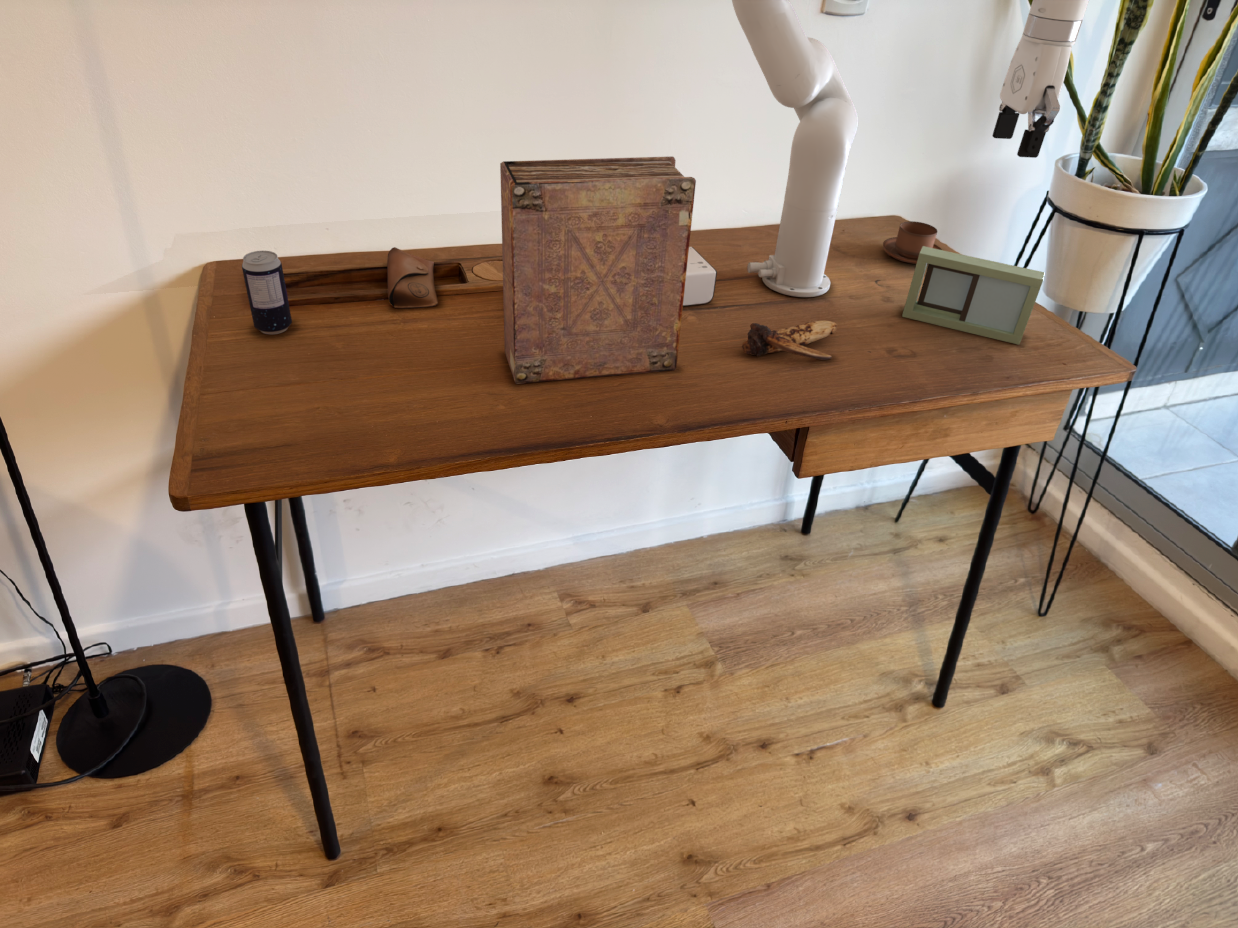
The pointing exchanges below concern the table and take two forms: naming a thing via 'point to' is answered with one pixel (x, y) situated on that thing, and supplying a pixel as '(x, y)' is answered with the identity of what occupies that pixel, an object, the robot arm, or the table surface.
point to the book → (593, 265)
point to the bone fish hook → (788, 339)
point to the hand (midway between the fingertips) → (1014, 147)
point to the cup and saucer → (911, 241)
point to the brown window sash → (945, 289)
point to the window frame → (980, 296)
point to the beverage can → (266, 292)
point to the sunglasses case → (410, 280)
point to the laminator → (699, 280)
